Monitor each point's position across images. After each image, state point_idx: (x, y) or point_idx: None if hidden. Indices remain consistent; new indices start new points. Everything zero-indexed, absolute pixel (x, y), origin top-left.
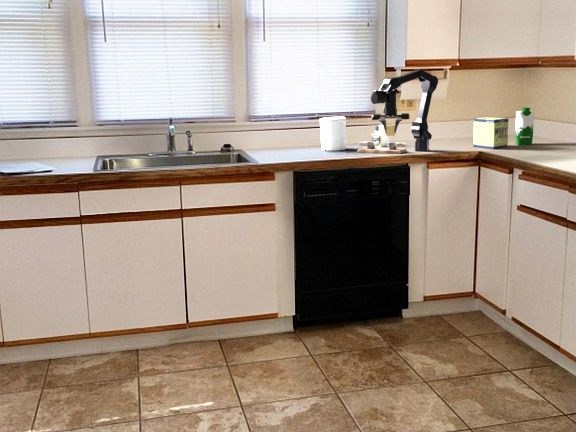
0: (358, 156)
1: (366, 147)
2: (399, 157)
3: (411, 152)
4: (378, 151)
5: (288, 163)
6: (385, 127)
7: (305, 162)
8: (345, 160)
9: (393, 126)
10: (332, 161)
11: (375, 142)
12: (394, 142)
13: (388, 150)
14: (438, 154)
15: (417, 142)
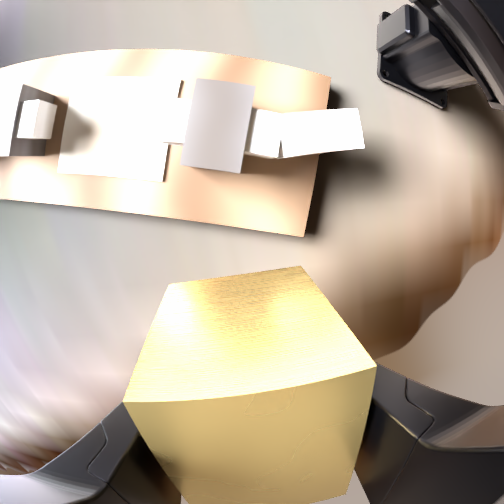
0: (66, 367)
1: (5, 70)
2: None
3: (368, 139)
4: (109, 208)
5: (5, 462)
6: (170, 488)
7: (22, 461)
8: None
9: (329, 496)
10: None
11: (34, 123)
12: (243, 140)
13: (195, 209)
14: (490, 234)
15: (426, 51)
